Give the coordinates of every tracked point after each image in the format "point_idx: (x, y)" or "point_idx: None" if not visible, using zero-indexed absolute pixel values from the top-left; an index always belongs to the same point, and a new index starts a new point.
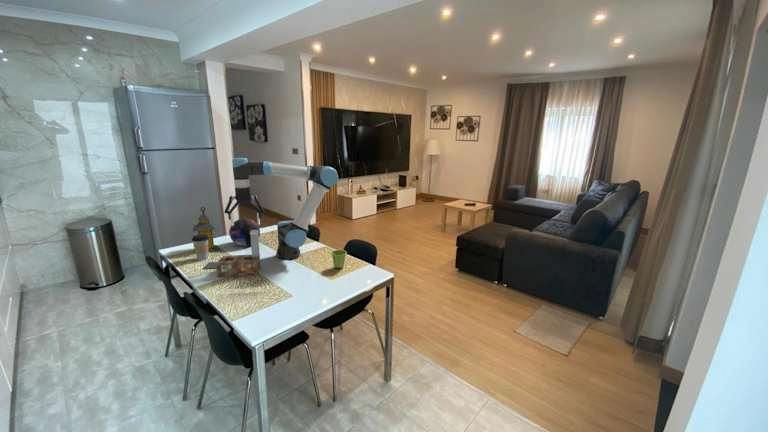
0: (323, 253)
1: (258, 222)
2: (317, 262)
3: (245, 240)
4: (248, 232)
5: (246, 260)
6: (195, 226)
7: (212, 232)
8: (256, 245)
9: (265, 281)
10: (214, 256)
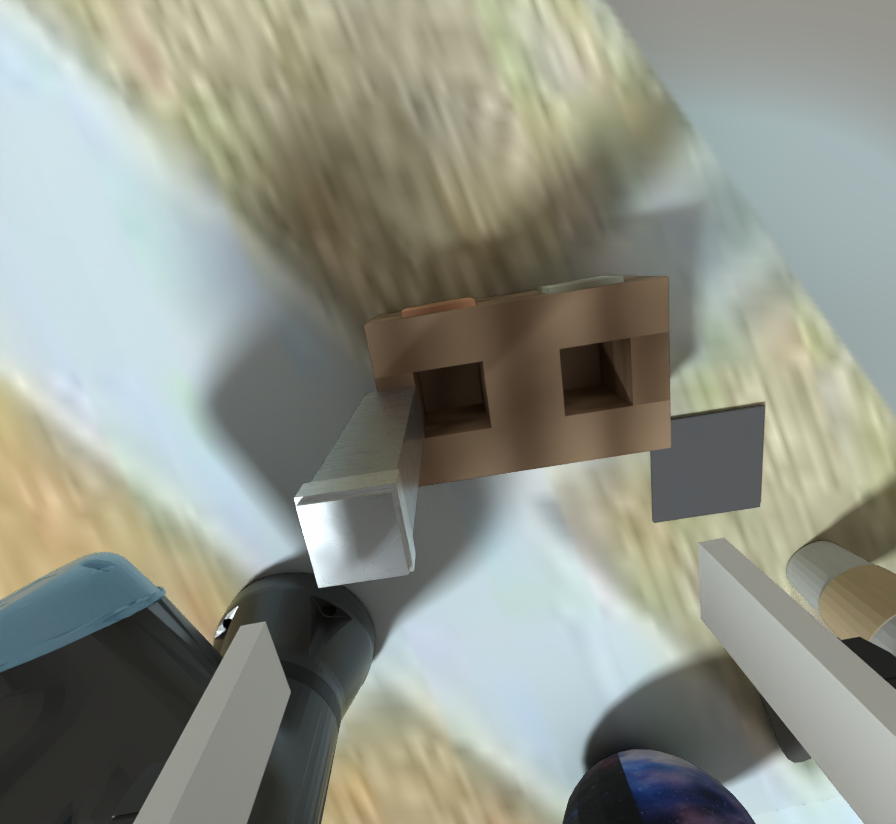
0: None
1: (233, 660)
2: (57, 530)
3: (626, 776)
4: None
5: (446, 349)
6: None
7: None
8: (354, 428)
9: (271, 207)
10: None
